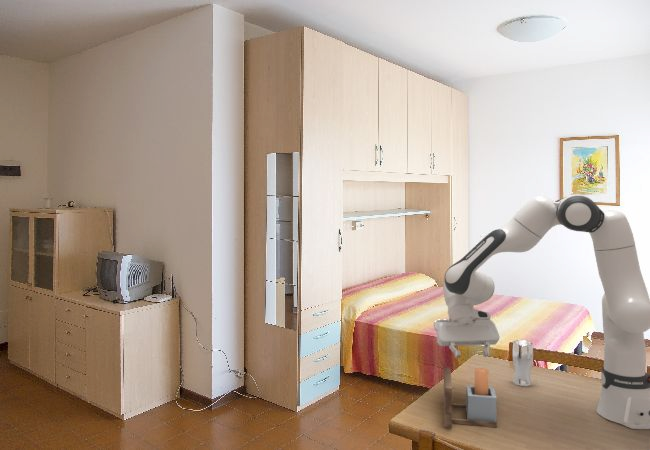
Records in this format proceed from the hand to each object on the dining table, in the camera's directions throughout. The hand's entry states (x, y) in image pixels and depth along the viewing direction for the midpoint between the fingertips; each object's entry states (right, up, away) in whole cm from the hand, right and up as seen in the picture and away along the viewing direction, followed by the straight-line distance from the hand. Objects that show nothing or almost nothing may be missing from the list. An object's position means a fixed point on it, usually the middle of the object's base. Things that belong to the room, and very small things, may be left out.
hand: (472, 356), depth 162 cm
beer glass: (+24, -15, +20) cm, 35 cm away
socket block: (+1, -17, -7) cm, 18 cm away
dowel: (+1, -16, -7) cm, 18 cm away
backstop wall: (-3, -17, -6) cm, 18 cm away
